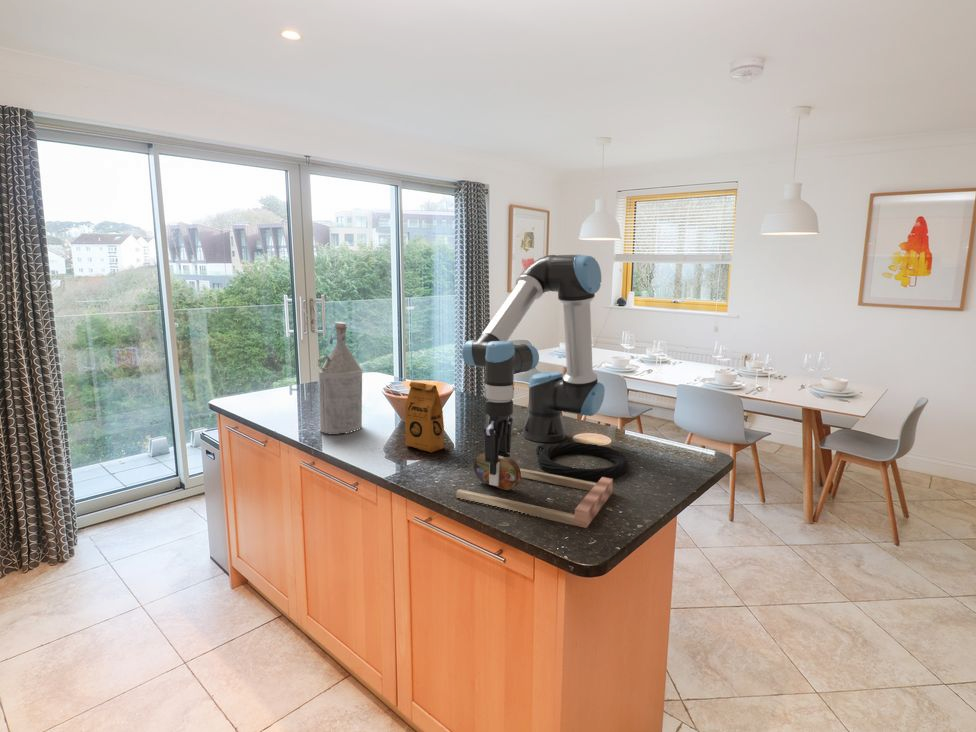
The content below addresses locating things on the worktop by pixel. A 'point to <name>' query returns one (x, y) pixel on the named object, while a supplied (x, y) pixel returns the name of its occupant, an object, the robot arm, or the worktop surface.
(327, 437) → the worktop surface
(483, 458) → the tin
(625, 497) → the worktop surface
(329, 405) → the grey jug bottle
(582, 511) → the stop channel
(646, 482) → the worktop surface
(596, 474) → the cable lock
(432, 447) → the coffee package
